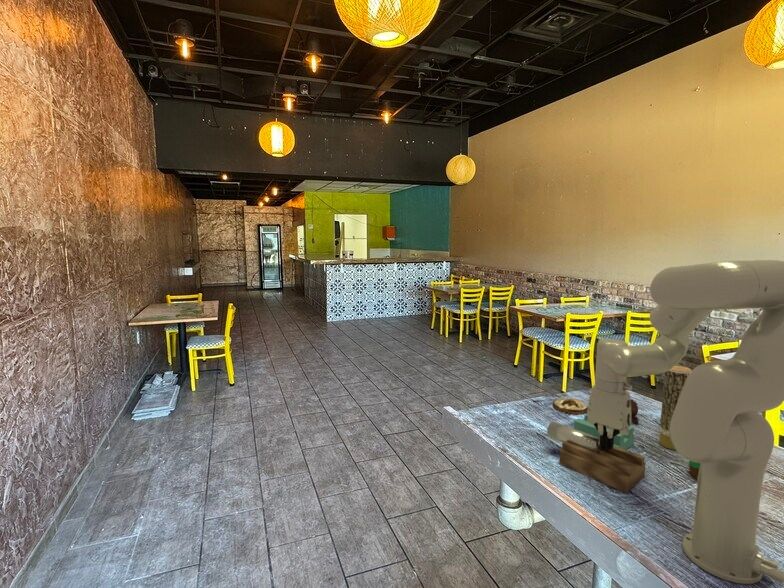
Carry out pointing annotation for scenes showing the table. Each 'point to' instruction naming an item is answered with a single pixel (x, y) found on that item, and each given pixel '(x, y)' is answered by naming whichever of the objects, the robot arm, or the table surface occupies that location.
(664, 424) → the bark patterned canister
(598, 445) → the axle
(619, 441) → the v block
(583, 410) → the tan round flat disc
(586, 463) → the wooden channel block
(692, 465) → the food container
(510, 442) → the table surface
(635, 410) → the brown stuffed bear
